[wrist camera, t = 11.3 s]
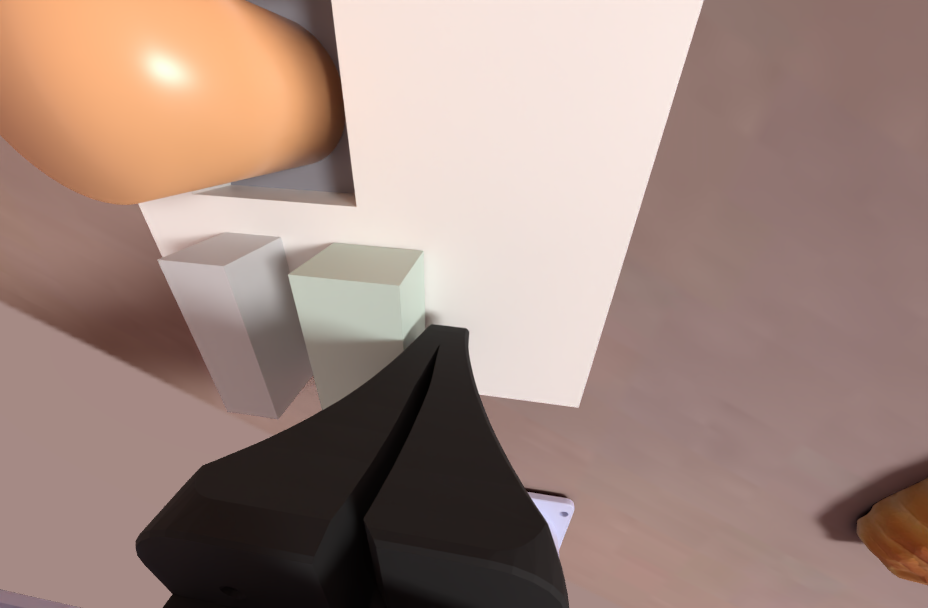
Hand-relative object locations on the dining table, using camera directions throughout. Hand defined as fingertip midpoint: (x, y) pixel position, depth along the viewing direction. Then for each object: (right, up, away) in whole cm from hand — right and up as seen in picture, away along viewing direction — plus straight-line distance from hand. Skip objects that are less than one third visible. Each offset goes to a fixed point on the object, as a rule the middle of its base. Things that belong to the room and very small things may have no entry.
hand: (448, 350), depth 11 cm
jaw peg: (-5, +8, 0) cm, 10 cm away
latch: (-2, +1, +1) cm, 3 cm away
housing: (-2, +5, +1) cm, 6 cm away
